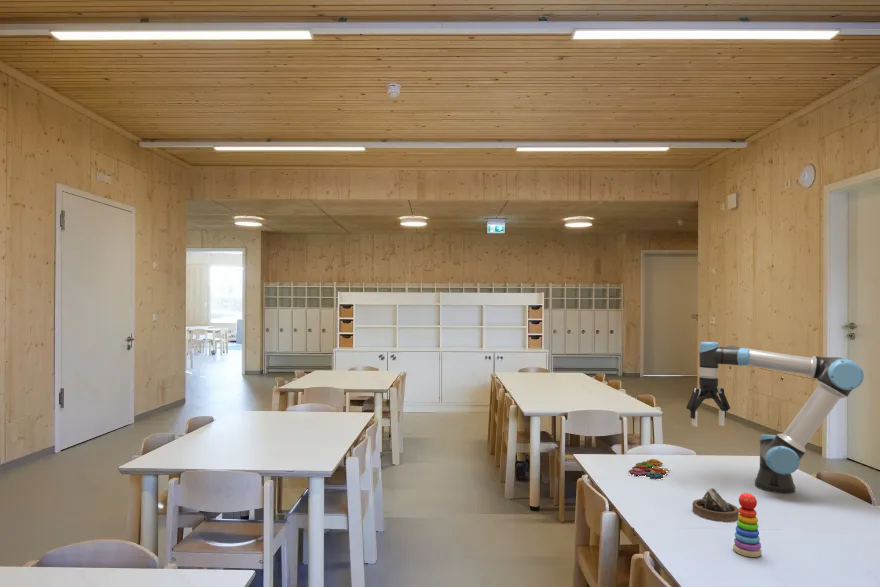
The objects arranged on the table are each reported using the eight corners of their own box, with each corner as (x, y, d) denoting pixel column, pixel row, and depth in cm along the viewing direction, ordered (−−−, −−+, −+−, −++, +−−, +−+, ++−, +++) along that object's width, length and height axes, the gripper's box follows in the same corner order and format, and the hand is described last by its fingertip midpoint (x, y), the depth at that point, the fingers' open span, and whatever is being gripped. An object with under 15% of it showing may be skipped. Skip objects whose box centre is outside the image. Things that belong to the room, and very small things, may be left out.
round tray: (718, 505, 220) (718, 498, 220) (748, 520, 205) (748, 512, 205) (684, 507, 217) (684, 500, 217) (711, 522, 202) (711, 514, 202)
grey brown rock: (737, 516, 205) (723, 491, 206) (713, 526, 206) (700, 501, 207) (727, 505, 215) (715, 481, 216) (705, 515, 217) (692, 491, 218)
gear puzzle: (641, 461, 286) (641, 453, 286) (674, 466, 277) (674, 458, 278) (626, 476, 259) (627, 467, 259) (663, 482, 251) (664, 473, 251)
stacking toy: (727, 547, 181) (728, 489, 181) (751, 547, 182) (751, 489, 182) (742, 558, 173) (743, 497, 174) (767, 558, 174) (767, 497, 174)
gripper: (727, 376, 251) (726, 423, 251) (678, 376, 246) (677, 424, 245) (739, 378, 244) (738, 427, 244) (689, 378, 239) (688, 428, 238)
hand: (708, 425), depth 245 cm, fingers open, 13 cm apart
